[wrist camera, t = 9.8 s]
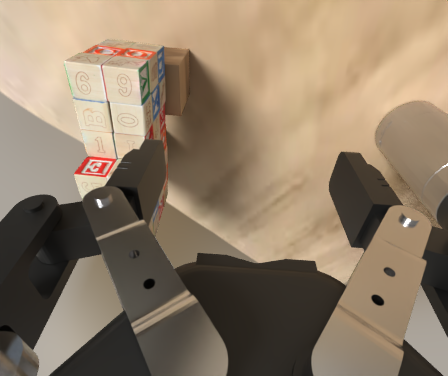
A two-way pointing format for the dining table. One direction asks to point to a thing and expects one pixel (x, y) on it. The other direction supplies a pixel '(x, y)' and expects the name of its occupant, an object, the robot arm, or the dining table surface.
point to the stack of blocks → (118, 108)
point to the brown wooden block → (176, 80)
